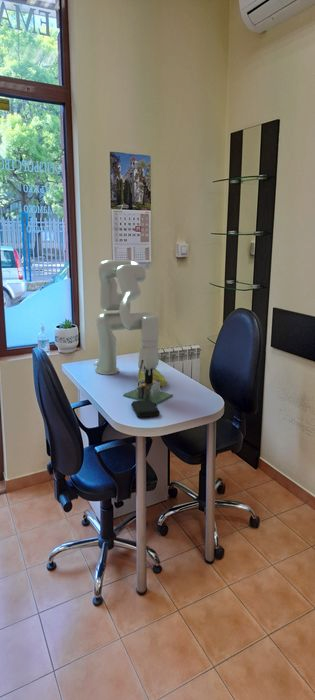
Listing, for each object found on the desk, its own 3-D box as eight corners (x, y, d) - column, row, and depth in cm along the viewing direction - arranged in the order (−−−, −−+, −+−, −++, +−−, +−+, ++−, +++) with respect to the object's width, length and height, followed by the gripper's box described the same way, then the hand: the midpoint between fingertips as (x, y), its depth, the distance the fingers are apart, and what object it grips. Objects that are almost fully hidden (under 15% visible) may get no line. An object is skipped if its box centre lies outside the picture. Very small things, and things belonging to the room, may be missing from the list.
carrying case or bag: (163, 417, 181) (154, 404, 195) (163, 410, 180) (154, 398, 194) (137, 419, 178) (130, 406, 192) (137, 412, 178) (130, 399, 191)
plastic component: (168, 382, 217) (151, 375, 213) (161, 395, 218) (144, 388, 214) (156, 368, 235) (140, 361, 231) (149, 380, 236) (133, 373, 232)
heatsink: (122, 396, 203) (122, 382, 201) (141, 387, 215) (141, 374, 213) (155, 405, 194) (155, 390, 192) (173, 395, 206) (173, 381, 204)
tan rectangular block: (140, 394, 201) (140, 384, 200) (151, 388, 208) (152, 379, 207) (144, 395, 199) (144, 385, 198) (156, 389, 207) (156, 380, 206)
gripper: (152, 339, 206) (151, 377, 211) (132, 345, 194) (132, 385, 198) (165, 341, 202) (164, 380, 207) (146, 347, 190) (146, 388, 194)
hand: (148, 382), depth 203 cm, fingers closed
